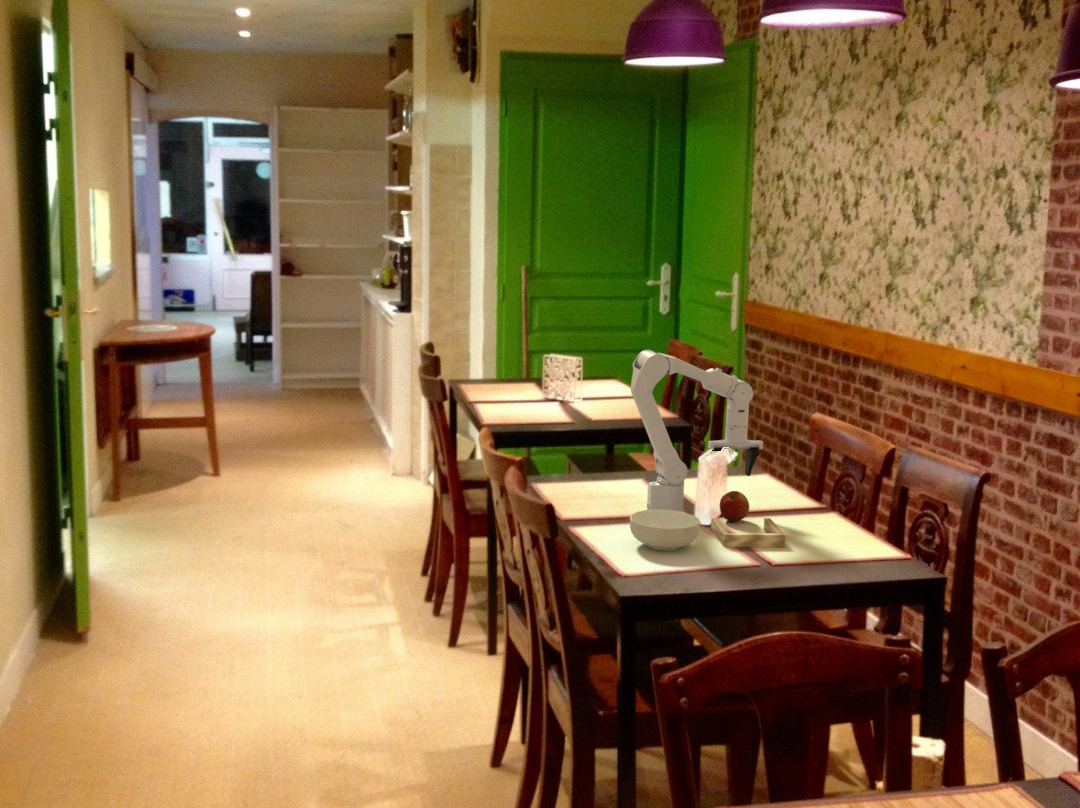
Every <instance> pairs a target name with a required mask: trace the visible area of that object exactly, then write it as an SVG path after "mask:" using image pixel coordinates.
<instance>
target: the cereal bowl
mask: <svg viewBox="0 0 1080 808" xmlns="http://www.w3.org/2000/svg"><path fill="white" fill-rule="evenodd" d="M629 529H630V532H631V534H632V536H633V537H634V538H635V539H636V540H637V541H638V542H640V543H642V544H644V545H647V548H650V549H652V550H657V551H663V552H667V551H668V552H669V551H676V550H679V549H680V548H683V547H686V546H688V545H690V544H692V543H693V542H694V541H695V540H696V539H697V538H698V536H699V533H700V529H701V519H700V518H699V517H697V516H695V515H693V514H690V513H689V512H688V513H687V512H684V511H683V512H680V511H673V510H660V509H655V510H647V509H644V510H639V511H636V512H633V513H632V514H630V516H629Z"/></svg>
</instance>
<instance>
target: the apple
mask: <svg viewBox="0 0 1080 808" xmlns="http://www.w3.org/2000/svg"><path fill="white" fill-rule="evenodd" d="M719 510H720V514H721V515H722V517H723V518H724V519H725V520H727V521H728V522H732V523H733V522H735V523H736V522H740V521H741V520H743V519H744V518H746V517H747V516H748V514H749V512H750V503H749V500H748V498H747V496H746V495H745V494H744V493H743V492H740V491H737V490H732V491H729V492H727V493H725V494H723V495H722V496H721V498H720V501H719Z"/></svg>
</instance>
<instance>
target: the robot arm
mask: <svg viewBox="0 0 1080 808" xmlns="http://www.w3.org/2000/svg"><path fill="white" fill-rule="evenodd" d="M676 373H677V374H680V375H683V376H684V377H688V378H690V379H693V380H696V381H699V382H700V383H701V386H702V388H703V389H704V390H707V391H709V392H712V393H714V394H717V395H719V396H721V397H724V398H727V401H726V402H727V404H726V405H727V406H726V419H725V421H726V422H725V431H724V432H725V436H724V439H719V440H708V444H707V448H708V449H709V450H711V449H713V450H712V451H721V449H722V448H723V447H729V448H730V449H732V450H734V449H735V450H739V449H741V450H742V449H743V450H744V451H745V464H744V465H745V467H744V474H745V476H747V477H750V476H751V473H752V470H753V468H754V464H755V463H756V461H757V458H758V457H759V456H760V455H761V450H763V449H764V441H762V440H754V439H753V440H752V439H751V440H750V439H748V427H749V415H750V414H749V410H750V402H751V401H752V399H753V398H754V393H755V392H753V388H752V386H751V384H750V383H748V382H746V381H743V380H741V379H739V378H738V376H736V375H734V374H733V375H729V374H727V373H725V372H723V369H721V368H718V367H715V368H712V367H711V368H709V369H706V370H704V369H702V368H700V367H698V366H695V365H693V364H691V363H689V362H687V361H685V360H682V359H680V358H678V357H676V356H674V355H669V354H666V353H662V352H655V351H654V350H651V349H644V350H642V351H641V352H639V353H638V355H637V356H636V358H635V359H634V360H633V362H632V376H631V383H630V393H631V396H632V398H633V401H634V402H635V405H636V408H637V410H638V413H639V416H640V419H641V420H642V423H643V426H644V428H645V431H646V434H647V436H648V438H649V441H650V445H651V446H652V449H653V457H654V461H655V462H654V469H655V471H656V473H657V474H658V475H657V476H656V477H657V478H656V481H650V482H648V484H647V496H646V497H647V498H646V499H647V500H646V501H647V502H646V510H655V509H660V510H673V511H680V512H684V497H685V495H684V494H685V493H684V492H685V481H686V478H687V476H688V467H687V465H686V463H684V462H683V461H682V459H680V456H679V454H678V452H677V450H676V449H675V447H674V446H673V443H672V441H671V439H670V435H669V433H668V431H667V430H668V429H667V428H666V426H665V425H666V424H665V422H664V420H663V417H662V415H661V413H660V409H659V407H658V405H657V402H656V399H655V397H654V394H653V391H654V389H655V387H656V385H657V384H658V383H659V382H660V381H661V380H662V379H663V378H664V377H665V376H666V375H669V376H670V375H673V374H676ZM729 448H724V449H722V450H725V449H726V450H727V449H728V450H729Z"/></svg>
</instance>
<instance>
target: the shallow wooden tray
mask: <svg viewBox="0 0 1080 808" xmlns="http://www.w3.org/2000/svg"><path fill="white" fill-rule="evenodd" d="M710 529H711V531H712V532H713V534H714V535H715V537H716V538H717V540H718V541H719V542H720V544H721V545H722V546H723V548H785V547H786V534H785V533H784V532H783V531H782V529H780V527H779V526H778V525H777V524H776V523H775V522H774V521H773V520H772V518H769V517H767V518H765V517H764V518H763V531H764V532H765V533H763V532H761V533H759V532H757V533H754V532H753V533H749V532H745V533H744V532H743V533H742V532H741V533H740V532H737V533H736V532H734V533H733V532H729V531H728V530H727V528H726V527H725V526H724V524H723V523H722V522H721V521H720V519H719V518H718V517H711V527H710Z"/></svg>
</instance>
